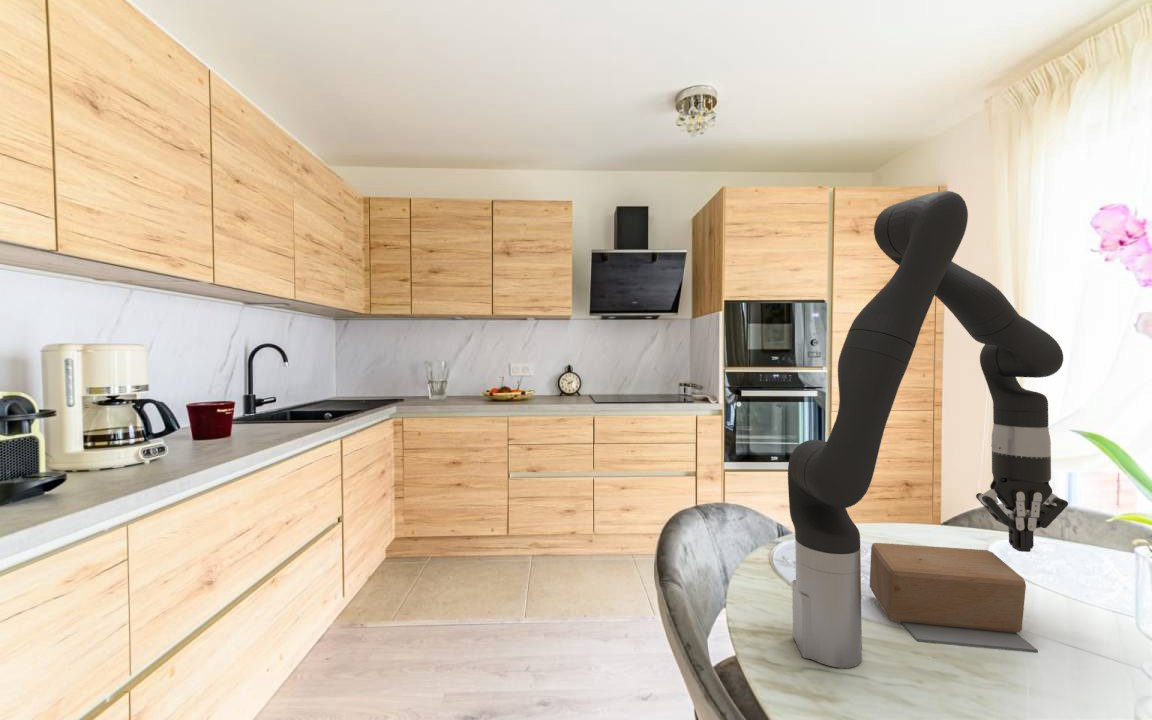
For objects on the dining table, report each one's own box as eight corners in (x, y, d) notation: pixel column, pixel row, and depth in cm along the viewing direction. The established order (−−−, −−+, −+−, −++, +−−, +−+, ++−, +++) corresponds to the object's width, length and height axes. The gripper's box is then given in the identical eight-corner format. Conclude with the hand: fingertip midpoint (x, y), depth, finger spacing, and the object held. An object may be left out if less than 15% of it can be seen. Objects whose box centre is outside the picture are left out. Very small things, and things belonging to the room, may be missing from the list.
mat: (917, 641, 77) (916, 638, 77) (870, 588, 95) (870, 586, 95) (1037, 652, 74) (1037, 649, 74) (966, 595, 92) (966, 593, 92)
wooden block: (1029, 580, 76) (891, 569, 81) (1024, 636, 78) (889, 622, 82) (990, 548, 86) (869, 540, 90) (986, 598, 87) (867, 587, 92)
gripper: (991, 454, 80) (992, 556, 80) (1083, 456, 77) (1085, 562, 77) (963, 446, 87) (964, 539, 87) (1047, 448, 84) (1048, 544, 84)
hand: (1021, 549), depth 82 cm, fingers closed
